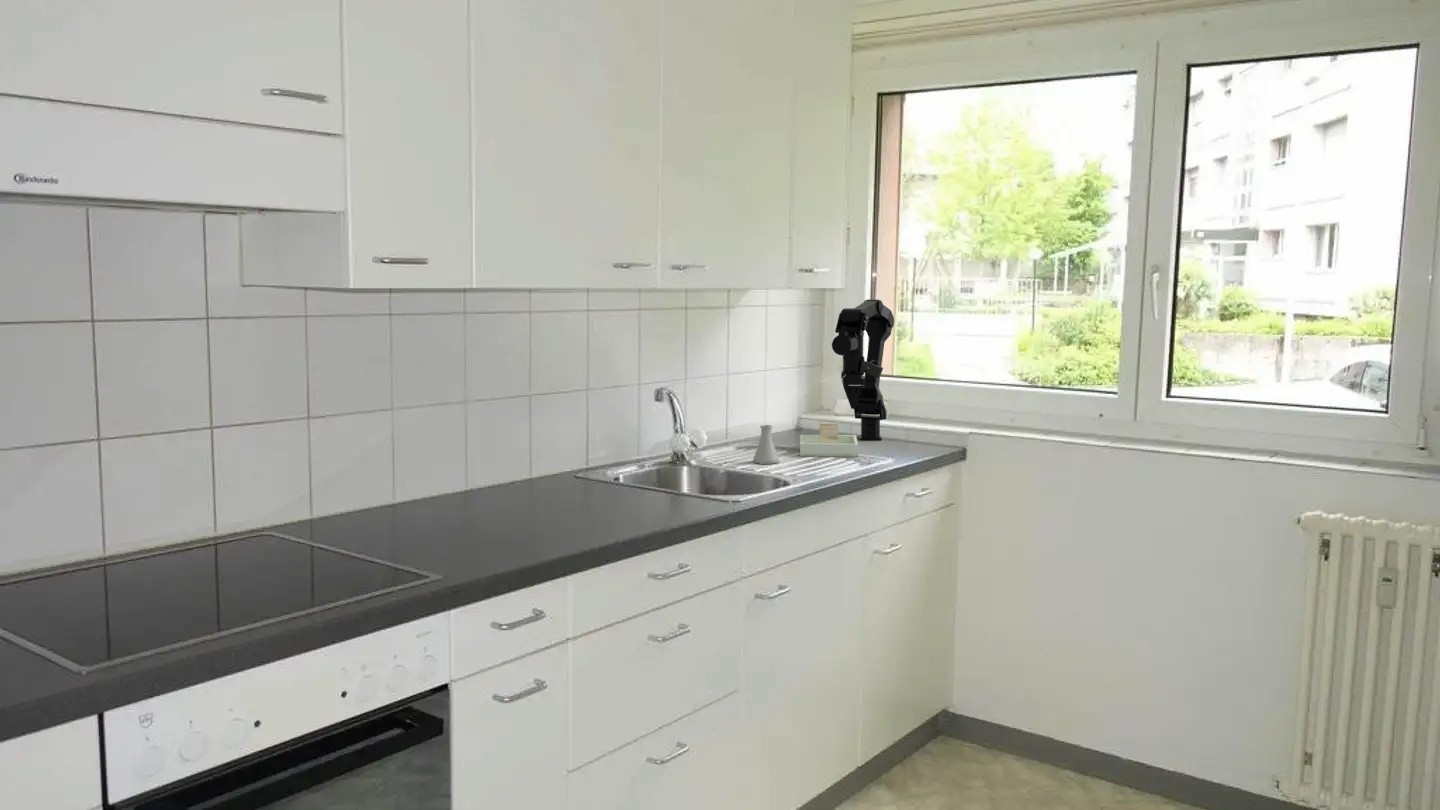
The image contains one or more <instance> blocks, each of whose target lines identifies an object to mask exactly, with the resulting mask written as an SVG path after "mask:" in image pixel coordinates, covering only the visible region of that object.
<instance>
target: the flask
mask: <svg viewBox="0 0 1440 810" xmlns="http://www.w3.org/2000/svg"><path fill="white" fill-rule="evenodd" d="M759 428H760V431H761V433H760V440H759V442H758V444H757V445H758V446H757V447H756V448H757V449H756V450H755V454H754V456H753V458H752V462H754V463H756V464H760V465H774V464H778V463H780V462H781V461H780V458H779V456H778V453H777V450H776V447H775V444H774V440H773V436H772V429H773V425H772V424H761V425H760V426H759Z"/></svg>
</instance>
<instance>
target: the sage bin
mask: <svg viewBox="0 0 1440 810" xmlns="http://www.w3.org/2000/svg"><path fill="white" fill-rule="evenodd" d="M799 438H800V439H799V441H800V442H799V457H805V458H806V457H814V458H815V457H816V458H817V457H821V458H822V457H824V458H825V457H826V458H827V457H829V458H830V457H831V458H833V457H834V458H835V457H837V458H838V457H839V458H842V457H844V458H845V457H846V458H854V457H855V458H859V442H858V438H857V435H856V434H838V444H820V434H800V437H799Z"/></svg>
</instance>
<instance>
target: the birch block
mask: <svg viewBox="0 0 1440 810" xmlns="http://www.w3.org/2000/svg"><path fill="white" fill-rule="evenodd" d="M819 435H820V444H838V435H839V425H838V423H819Z"/></svg>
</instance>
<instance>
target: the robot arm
mask: <svg viewBox="0 0 1440 810" xmlns="http://www.w3.org/2000/svg"><path fill="white" fill-rule="evenodd" d="M894 326H895V317H894V315H893V313H892V310H891V309H890V308H888V307H887V306H886V305H884V304H883V301H882V300H881V299H866V300H864V301H863V302H861V303H860V304H859V305H857V306H855V307H850V308H849V307H848V308H847V307H844V308H842V310H840V312H839V314H838V319H837V322H836V327H835V331H834V332H835V333H836V334H838V335H837V336H835V337H834V338H833V340H832V342H831V348H832V351H833V352H834V354H836V355H838V356H842V370H841V372H840V377H841V378H840V379H841V382H842V386H843V389H844V390H843V391H844V392H845V395H846V398H847V400H848V403H849V406H850V409H851V410H853V413H854V419H856V420H859V419H860V434H858V435H859V436H858V437H859V440H860V441H881V440H882V438H883V437H882V435H881V421H885V420H887V416H888V415H887V413H888V412H887V408H886V406H885V403H884V400H883V399H884V397H883V394H882V392H881V389H880V380H881V375H882V372H883V370H884V367H883V366H882V364H883V356H884V349H885V342H886V341H887V340H888V339H889V337H890V336H891V334H892V331H893V328H894ZM864 332H866V335H867V336H868V347H867V353H866V354H867V356H866V360H865V356H864V335H865V333H864Z"/></svg>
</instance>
